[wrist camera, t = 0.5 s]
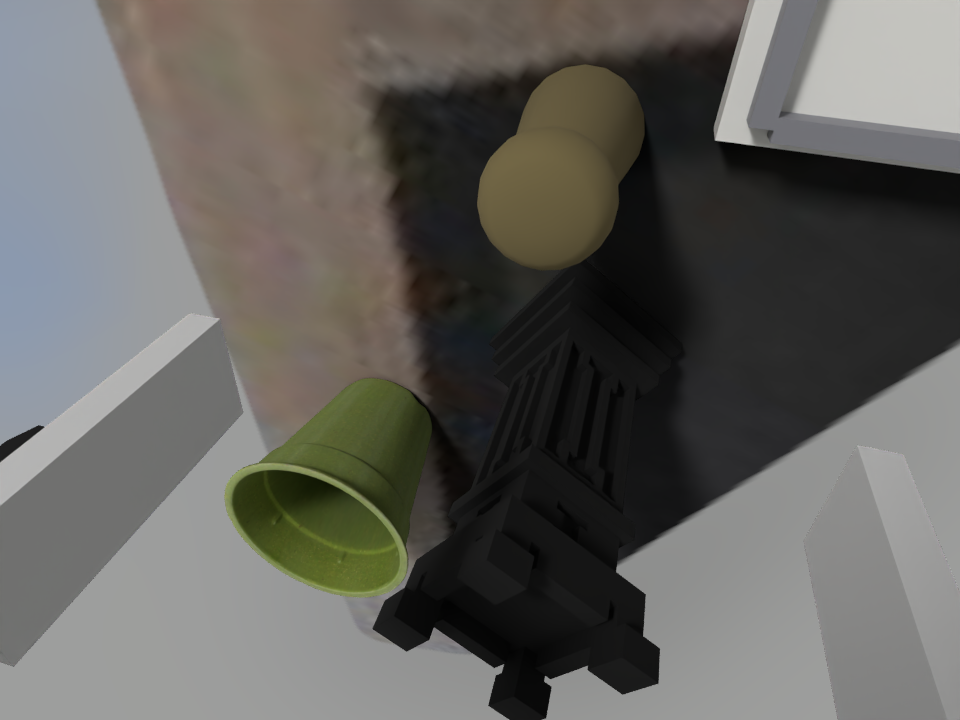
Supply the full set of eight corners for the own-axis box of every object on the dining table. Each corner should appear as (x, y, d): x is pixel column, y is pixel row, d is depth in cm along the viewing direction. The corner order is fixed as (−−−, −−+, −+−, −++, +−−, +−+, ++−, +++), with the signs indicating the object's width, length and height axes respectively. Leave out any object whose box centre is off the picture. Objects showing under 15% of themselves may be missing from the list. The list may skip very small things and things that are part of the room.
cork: (637, 196, 31) (618, 303, 22) (520, 188, 32) (459, 286, 24) (652, 65, 27) (637, 133, 19) (520, 63, 29) (450, 126, 20)
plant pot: (285, 360, 45) (186, 469, 36) (428, 339, 40) (355, 458, 31) (353, 477, 50) (282, 596, 42) (484, 471, 46) (436, 603, 37)
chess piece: (681, 343, 35) (677, 686, 19) (586, 413, 40) (521, 733, 24) (578, 254, 34) (484, 547, 18) (492, 337, 38) (358, 626, 23)
